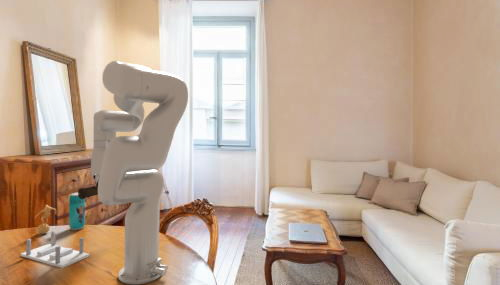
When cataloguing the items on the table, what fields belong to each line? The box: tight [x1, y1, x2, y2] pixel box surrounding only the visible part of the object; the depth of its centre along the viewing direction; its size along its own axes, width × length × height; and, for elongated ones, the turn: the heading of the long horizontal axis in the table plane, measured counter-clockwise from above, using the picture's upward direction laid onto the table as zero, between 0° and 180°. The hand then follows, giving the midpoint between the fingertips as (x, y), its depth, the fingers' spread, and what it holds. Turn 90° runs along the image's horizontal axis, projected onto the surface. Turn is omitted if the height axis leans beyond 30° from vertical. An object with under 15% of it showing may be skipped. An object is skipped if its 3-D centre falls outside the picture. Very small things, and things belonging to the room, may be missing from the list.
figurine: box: [33, 204, 58, 235], centre depth 113 cm, size 8×6×12 cm
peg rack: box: [20, 231, 90, 269], centre depth 94 cm, size 20×9×6 cm, turn 69°
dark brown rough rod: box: [77, 185, 98, 200], centre depth 106 cm, size 19×4×5 cm, turn 155°
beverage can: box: [68, 192, 86, 231], centre depth 120 cm, size 6×6×15 cm
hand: (104, 193), depth 106 cm, fingers closed on dark brown rough rod, 3 cm apart
